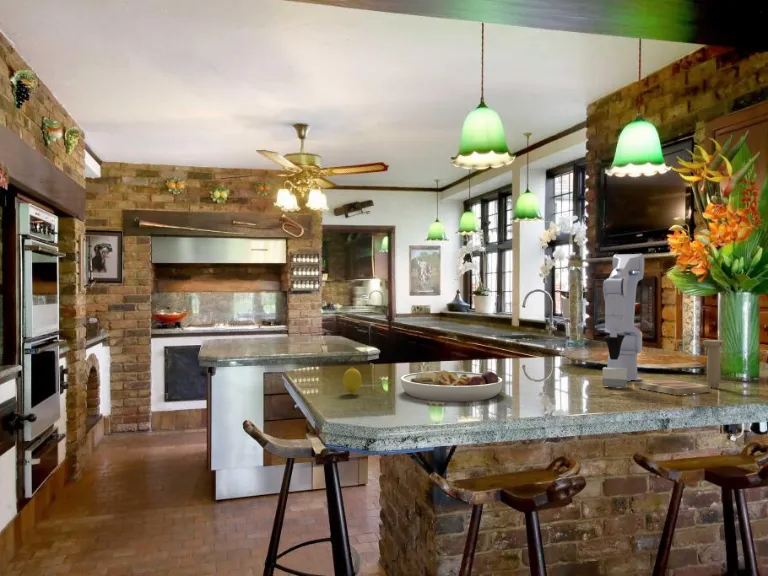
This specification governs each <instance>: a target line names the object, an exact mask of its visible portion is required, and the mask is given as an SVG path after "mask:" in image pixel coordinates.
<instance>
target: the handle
mask: <svg viewBox="0 0 768 576" xmlns="http://www.w3.org/2000/svg"><path fill="white" fill-rule="evenodd" d="M702 344H703V345H704V346H705V347H707V355H706V356H707V359H706V360H707V361H706V380H707V386H709V387H712V388H711V389H716V388H717V389H719V388H720V383H721V376H722V375H721V373H722V372H721V368H722V367H721V357H720V355H721V354H720V353H721V352H720V350H721V349H720V348H721V347H723V346H724V345H725V340H720V339H705V340H703V341H702Z"/></svg>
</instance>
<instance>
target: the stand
mask: <svg viewBox="0 0 768 576" xmlns="http://www.w3.org/2000/svg"><path fill="white" fill-rule="evenodd" d="M639 388H641V389H640V390H642V389H646V390H645V391H648V390H652V391H651V392H653V391H658V392H657V393H659V392H665V393H670V394H675V395H682V396H685V395H684V394H691V395H694V394H693V393H700V394H702V393H701V392H709V393H710V388H709V386H708V384H706V385H705V384H701V383H693V382H687V381H679V380H673V379H663V380H652V381H650V380H649V381H642V382H640V381H639V382H638V389H639ZM670 394H669V395H670ZM675 395H674V396H675Z"/></svg>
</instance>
